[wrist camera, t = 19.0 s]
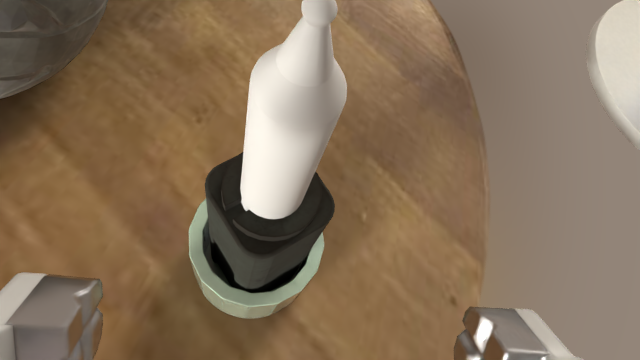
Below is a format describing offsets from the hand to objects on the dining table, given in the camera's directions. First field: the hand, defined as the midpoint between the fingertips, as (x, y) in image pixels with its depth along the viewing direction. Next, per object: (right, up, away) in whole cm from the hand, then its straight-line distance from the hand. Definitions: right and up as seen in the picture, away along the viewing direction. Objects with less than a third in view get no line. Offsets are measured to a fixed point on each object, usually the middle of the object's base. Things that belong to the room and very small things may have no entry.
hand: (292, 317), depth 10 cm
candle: (-4, -3, +23) cm, 23 cm away
